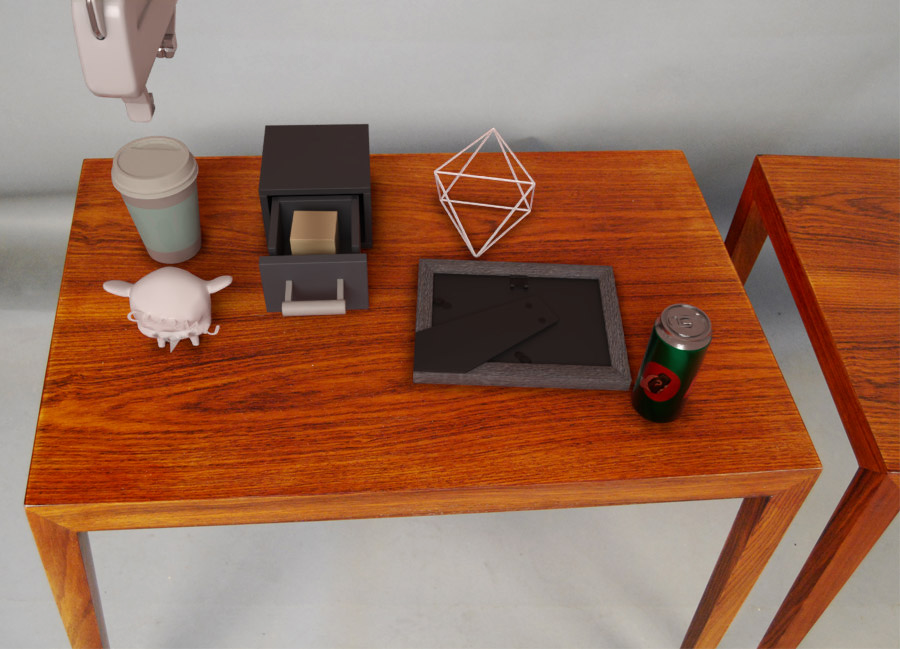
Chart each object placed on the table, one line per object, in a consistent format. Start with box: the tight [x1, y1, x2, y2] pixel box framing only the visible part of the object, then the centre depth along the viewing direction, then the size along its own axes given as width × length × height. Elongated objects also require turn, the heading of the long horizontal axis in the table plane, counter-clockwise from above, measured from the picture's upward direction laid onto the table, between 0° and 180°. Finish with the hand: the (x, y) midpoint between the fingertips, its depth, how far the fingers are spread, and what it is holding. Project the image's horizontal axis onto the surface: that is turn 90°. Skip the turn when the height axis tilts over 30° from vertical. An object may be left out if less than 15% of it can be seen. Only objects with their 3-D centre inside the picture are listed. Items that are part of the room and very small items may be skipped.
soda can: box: [630, 303, 714, 424], centre depth 78 cm, size 5×5×12 cm
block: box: [290, 211, 340, 255], centre depth 88 cm, size 4×4×6 cm
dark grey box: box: [258, 123, 374, 250], centre depth 96 cm, size 12×12×9 cm
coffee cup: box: [110, 135, 203, 265], centre depth 90 cm, size 8×8×12 cm
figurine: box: [102, 266, 233, 353], centre depth 83 cm, size 12×8×10 cm
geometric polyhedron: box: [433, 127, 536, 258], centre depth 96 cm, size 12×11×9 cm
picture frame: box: [412, 258, 632, 392], centre depth 88 cm, size 16×2×21 cm
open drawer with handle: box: [258, 195, 370, 317], centre depth 87 cm, size 15×10×7 cm
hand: (155, 84), depth 70 cm, fingers open, 8 cm apart
